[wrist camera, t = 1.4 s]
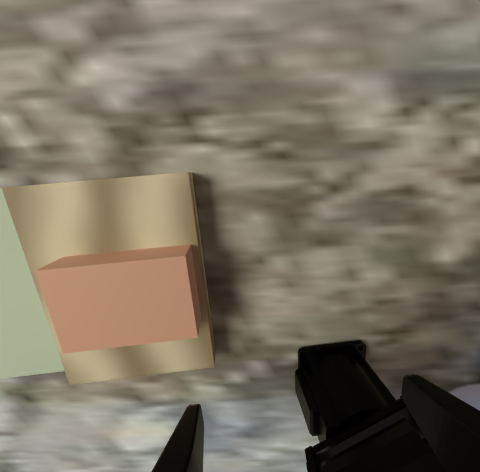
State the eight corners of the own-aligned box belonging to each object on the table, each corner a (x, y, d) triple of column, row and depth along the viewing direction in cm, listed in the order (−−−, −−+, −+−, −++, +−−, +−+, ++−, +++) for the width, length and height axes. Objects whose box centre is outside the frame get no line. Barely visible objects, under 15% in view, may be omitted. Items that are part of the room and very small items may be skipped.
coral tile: (190, 244, 17) (185, 255, 14) (201, 316, 18) (197, 337, 16) (62, 256, 16) (34, 270, 14) (84, 329, 18) (63, 353, 15)
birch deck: (192, 172, 17) (188, 172, 15) (215, 349, 21) (214, 366, 19) (26, 186, 17) (1, 187, 15) (83, 365, 21) (69, 384, 19)
